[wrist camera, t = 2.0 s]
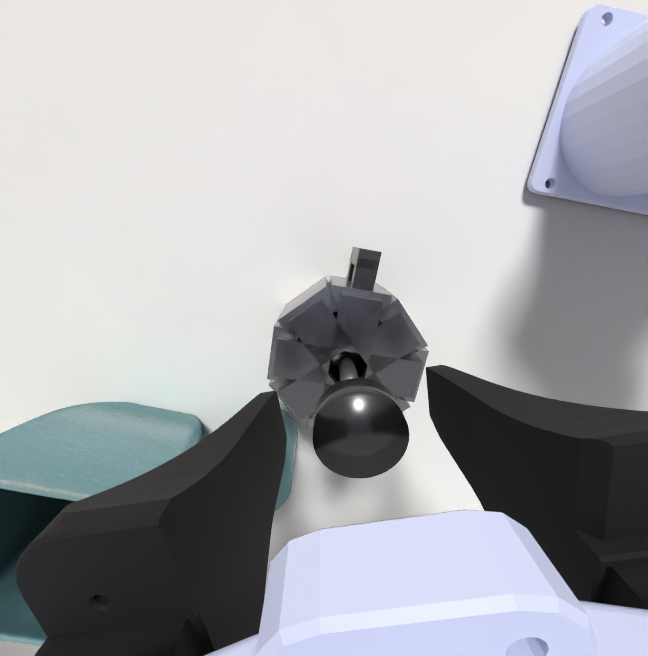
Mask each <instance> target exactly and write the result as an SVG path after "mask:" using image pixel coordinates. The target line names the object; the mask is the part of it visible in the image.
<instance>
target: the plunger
mask: <svg viewBox="0 0 648 656" xmlns="http://www.w3.org/2000/svg"><path fill="white" fill-rule="evenodd" d="M338 364H339V372H340V380H341V381H340V382H337V383H336V384H334V385H332V386H331V387H329V388H328V389H327V390H326V391H325V392H324V393H323V394H322V395H321V397H320V398H319V400H318V402H317V404H316V407H315V411H314V424H313V445H314V449H315V452H316V454H317V456H318V458H319V459H320V460H321V462H322V463H323V464H324V465H325V466H326V467H327V468H329V469H330V470H332V471H333V472H335V473H337V474H339V475H342V476H345V477H350V478H369V477H373V476H377V475H379V474H382V473H384V472H386V471H388V470H389V469H391V468H392V467H393V466H394V465H396V464H397V463H398V462H399V460H400V459H401V458H402V456H403V455H404V453H405V451H406V449H407V446H408V442H409V429H408V425H407V422H406V420H405V418H404V415H403V413H402V411H401V409H400V407H399V405H398V402H397V400H396V398H395V397H394V395H393V394H392V393H391V391H390V390H389V389H387V388H386V387H385V386H384V385H382V384H380V383H378V382H376V381H374V380H370V379H366V378H358V374H357V370H356V367H355V363H354V360H353V358H352V357H350V356H343V357H341V358H340V360H339V363H338Z"/></svg>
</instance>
